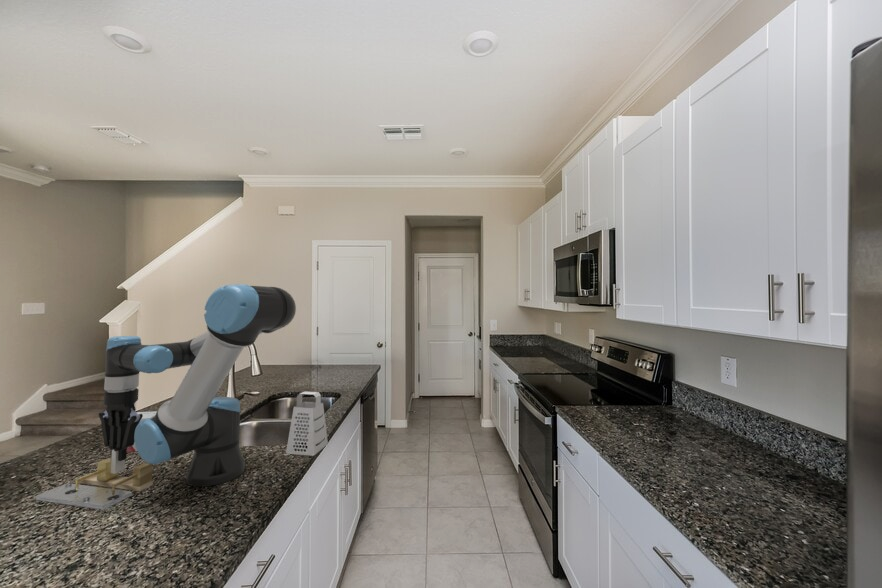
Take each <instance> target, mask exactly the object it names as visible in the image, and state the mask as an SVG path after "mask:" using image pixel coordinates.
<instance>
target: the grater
mask: <svg viewBox="0 0 882 588" xmlns="http://www.w3.org/2000/svg"><path fill="white" fill-rule="evenodd" d="M303 395H313V396H314V397H315V401H303ZM321 401H322V395H321V394H320V392H319V391H303V392H300V393H298V394H297V396H296V405H295V406H293V409H292V415H291V421H290V425H289V426H290V427H289V433H288V440H287V445H286V450H285V454H289V455H290V454H291V455H301V456H302V455H303V456H313V457H314V456H316V455H317V454H318V453H320V451H322V450H323V449H324V448H325V447H327V446H328V445H329V442H328V435H327V434H328V433H327V425H326V417H325V409H324V408H325V407H324V402H321ZM302 443H303V444H302ZM305 443H306V444H305ZM300 446H301V447H300ZM303 446H304V447H303ZM306 446H307V448H306ZM304 450H305V451H304Z"/></svg>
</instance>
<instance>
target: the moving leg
mask: <svg viewBox="0 0 882 588" xmlns="http://www.w3.org/2000/svg"><path fill="white" fill-rule="evenodd" d="M96 468H97V470H96V471H93V472H91V474H90V473H87V474H88V475H87V474H85V475H86V476H85V475H83V477H82V476H81V478H80V477H78V479H77V478H76V479H75V480H74V481H75V484H76V485H75V490H78V489H79V485H80V483H79V482H80V481H82V480H85V479H87V478H90V477H92V476H95V475H97V480H100V481H107V480H109V479H111V478H114V477H116V476H120V472H118V473H115V474H113V473H111V456H110V457H108V458H105V459H103V460H100V461H97V467H96Z"/></svg>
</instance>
